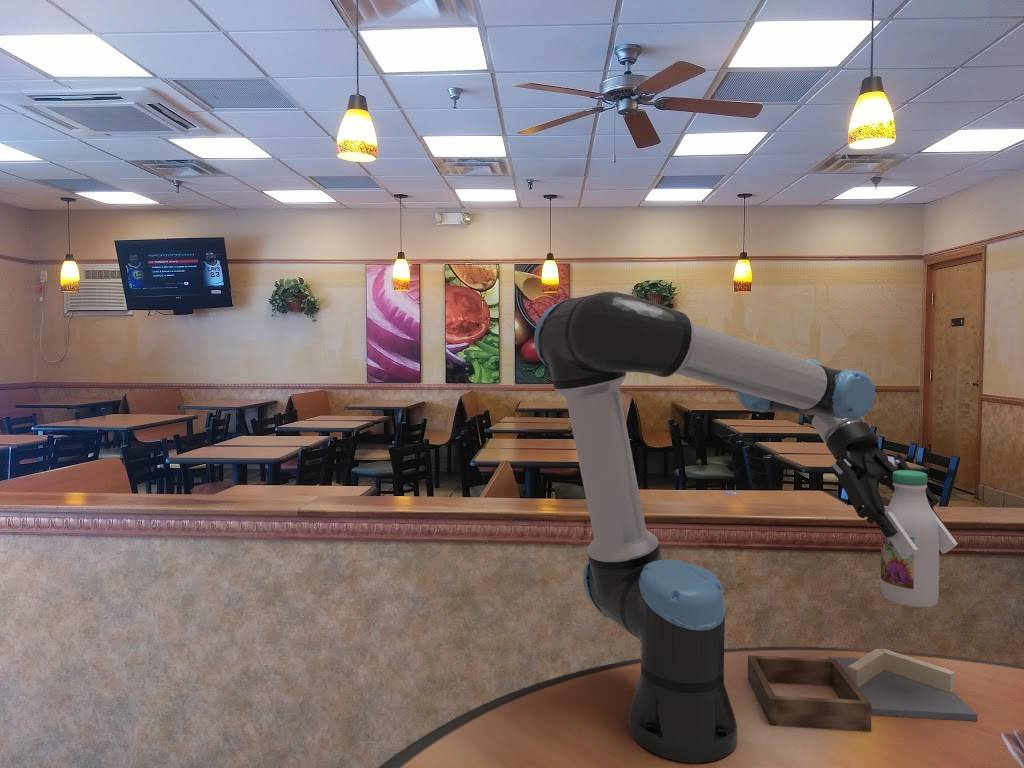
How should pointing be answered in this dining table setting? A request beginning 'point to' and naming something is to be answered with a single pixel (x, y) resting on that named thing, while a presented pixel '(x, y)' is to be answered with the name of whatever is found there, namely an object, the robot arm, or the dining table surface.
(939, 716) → the v cradle
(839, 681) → the walnut collar
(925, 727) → the dining table surface
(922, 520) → the milk bottle
